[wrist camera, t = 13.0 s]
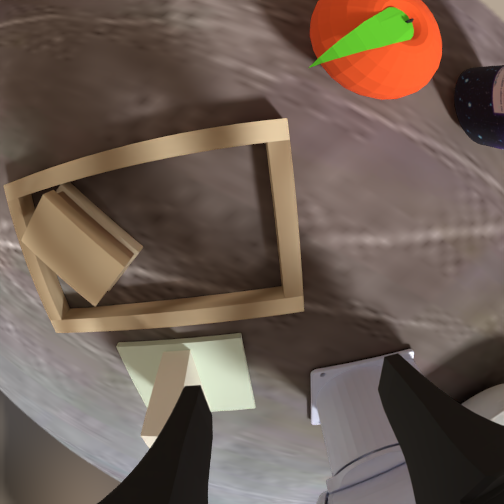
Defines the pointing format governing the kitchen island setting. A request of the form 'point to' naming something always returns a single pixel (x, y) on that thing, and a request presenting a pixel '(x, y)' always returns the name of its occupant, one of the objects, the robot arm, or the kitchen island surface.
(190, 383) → the cream rectangular block
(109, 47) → the kitchen island surface
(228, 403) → the sage mat
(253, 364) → the kitchen island surface
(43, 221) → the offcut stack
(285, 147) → the wooden rectangular frame
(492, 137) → the beverage can
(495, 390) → the serving bowl
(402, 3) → the clementine
